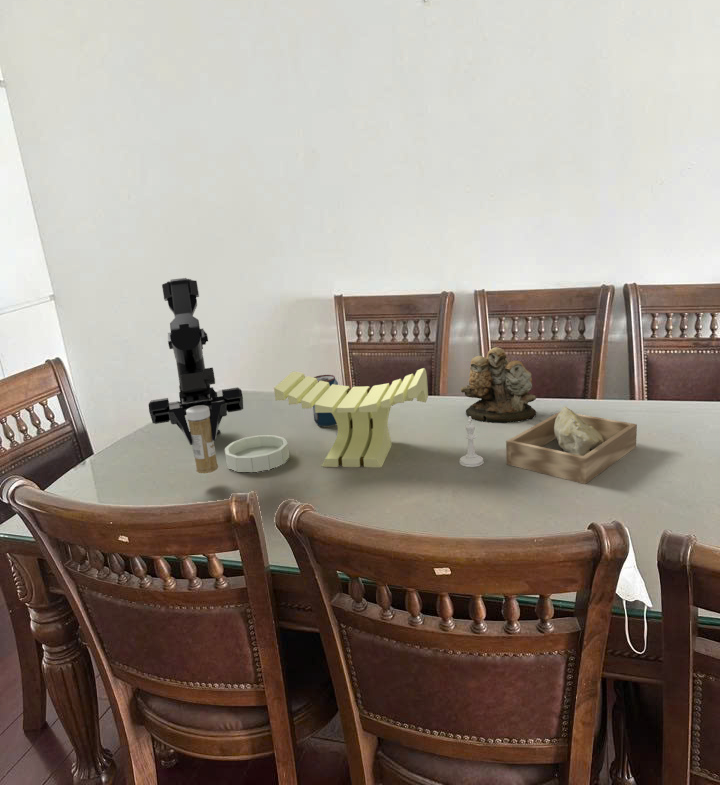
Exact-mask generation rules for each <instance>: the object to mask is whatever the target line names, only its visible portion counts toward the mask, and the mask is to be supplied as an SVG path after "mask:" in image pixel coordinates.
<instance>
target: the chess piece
mask: <svg viewBox="0 0 720 785" xmlns="http://www.w3.org/2000/svg"><path fill="white" fill-rule="evenodd" d="M472 420H473V419H472V418H471V416H469V417H468V419H467V423H468V424H466V425H465V427H464V428H465V430H466V433H467V434H466V435H465V436H464V437H465V439H466V440H467V452H466V454H465V455H463V456H461V457H460V458H459V465H460V466H463V467H467V468H475V467H477V468H478V467H480V466H482V465H483V464H484V463H485V461H484V458H483V457H482V456H481V455H478V454H477V453H476V451H475V450H476V449H475V445H474V440H475V439H476V435H475V434H474V433H475V429H476V425H475V424H473V423H472V422H473V421H472Z"/></svg>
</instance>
